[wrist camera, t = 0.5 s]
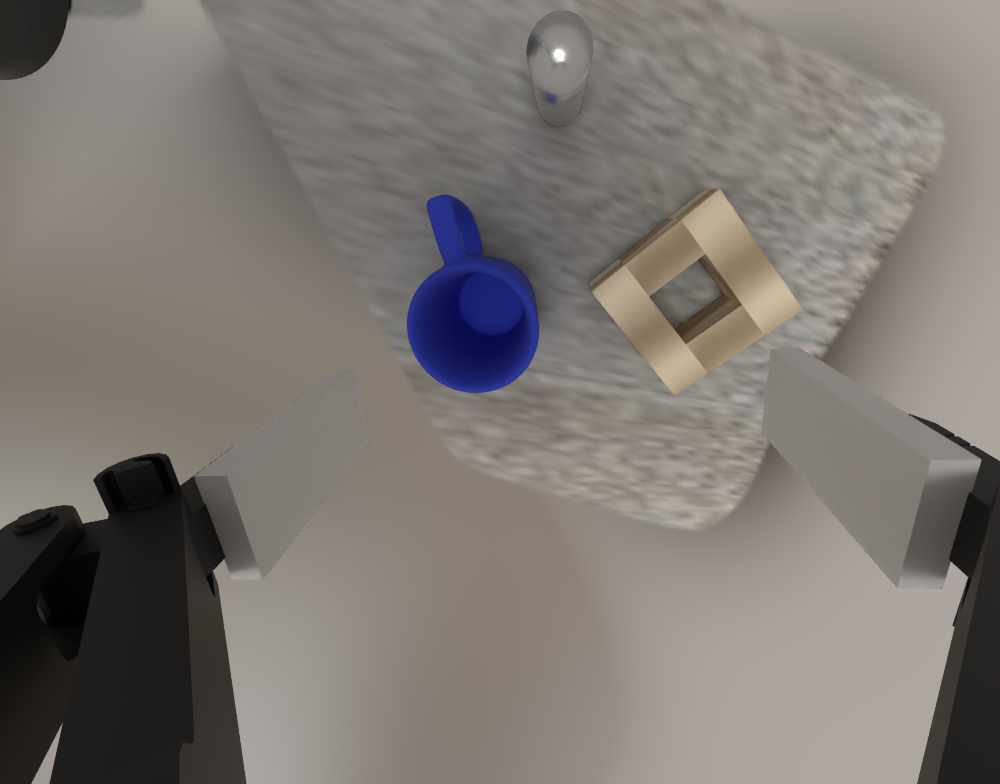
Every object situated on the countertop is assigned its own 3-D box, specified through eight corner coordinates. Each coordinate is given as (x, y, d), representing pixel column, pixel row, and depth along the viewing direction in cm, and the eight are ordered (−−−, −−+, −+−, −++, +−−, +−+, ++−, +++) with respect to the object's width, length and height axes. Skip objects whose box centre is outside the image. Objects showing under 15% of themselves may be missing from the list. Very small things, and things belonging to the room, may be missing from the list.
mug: (517, 181, 35) (502, 174, 26) (554, 337, 39) (552, 379, 30) (414, 212, 37) (365, 216, 27) (459, 359, 41) (429, 405, 31)
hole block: (588, 282, 37) (591, 291, 33) (702, 190, 34) (719, 188, 30) (663, 377, 39) (674, 395, 35) (778, 298, 36) (803, 309, 32)
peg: (529, 100, 33) (513, 48, 22) (563, 65, 32) (564, -7, 21) (556, 136, 34) (554, 104, 23) (591, 103, 33) (606, 52, 22)
